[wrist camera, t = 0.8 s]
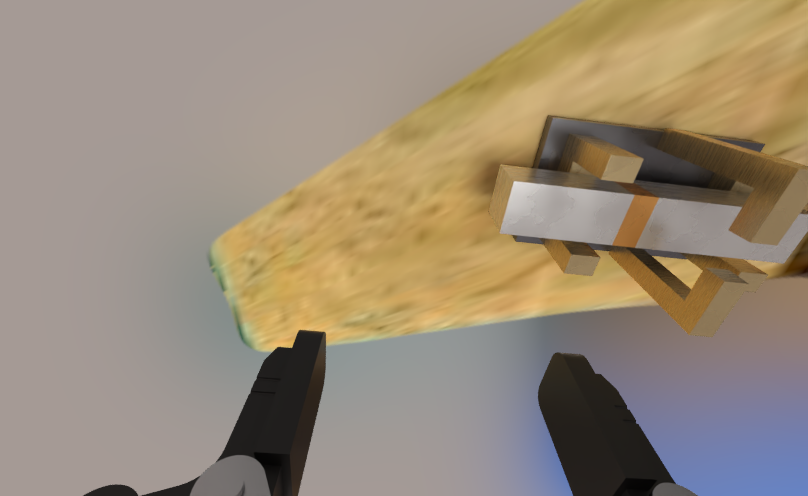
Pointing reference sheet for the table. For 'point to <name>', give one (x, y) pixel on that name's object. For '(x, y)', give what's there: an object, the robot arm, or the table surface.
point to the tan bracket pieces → (623, 167)
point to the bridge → (756, 222)
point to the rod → (629, 214)
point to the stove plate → (634, 141)
